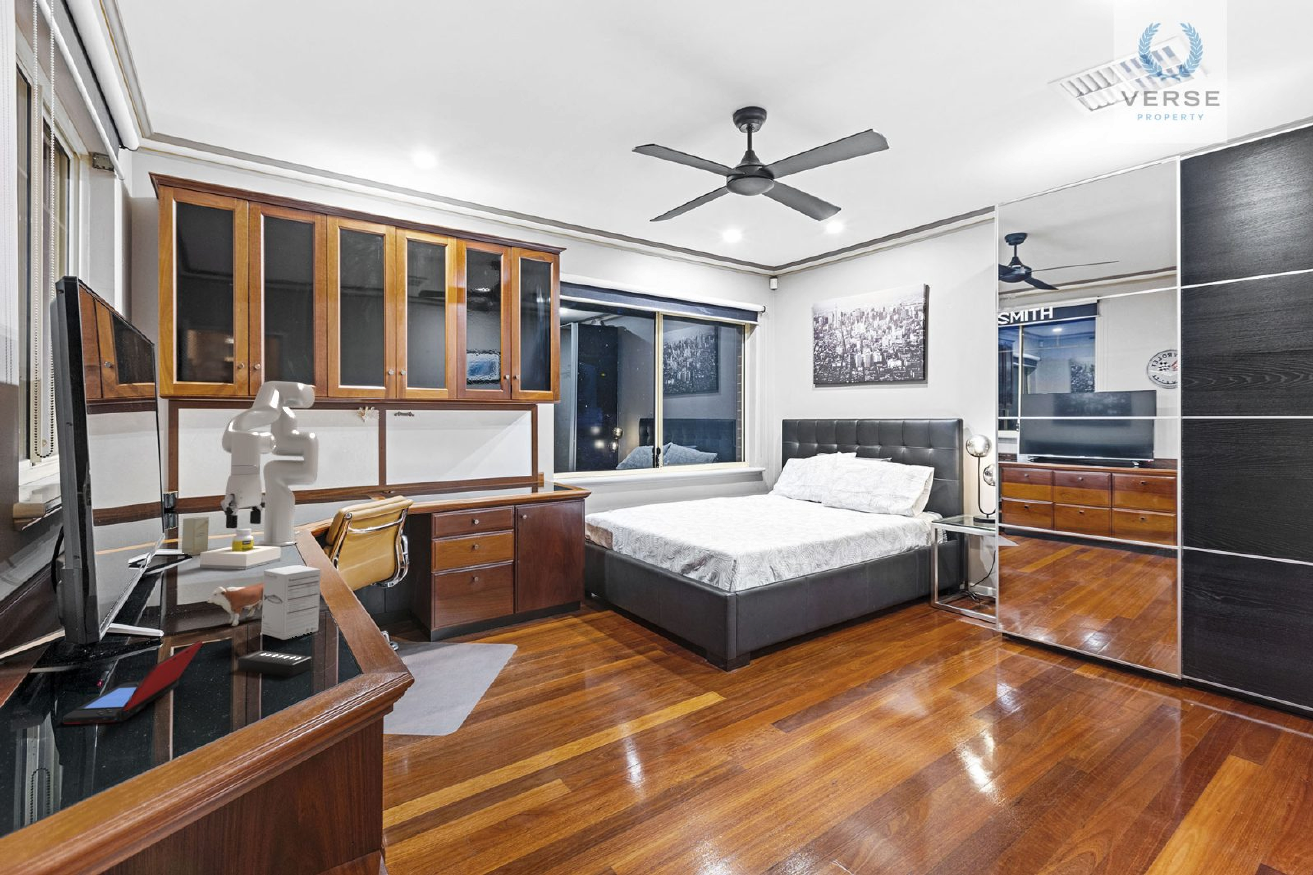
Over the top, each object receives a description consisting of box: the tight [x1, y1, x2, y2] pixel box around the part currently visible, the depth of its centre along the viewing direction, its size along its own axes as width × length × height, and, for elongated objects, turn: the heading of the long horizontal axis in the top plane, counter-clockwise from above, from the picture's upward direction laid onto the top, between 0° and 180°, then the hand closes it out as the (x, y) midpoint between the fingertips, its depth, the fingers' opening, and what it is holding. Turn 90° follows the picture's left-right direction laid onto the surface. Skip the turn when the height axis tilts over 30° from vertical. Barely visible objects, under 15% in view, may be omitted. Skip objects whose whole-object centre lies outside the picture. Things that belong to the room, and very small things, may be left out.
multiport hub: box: [236, 650, 313, 678], centre depth 99 cm, size 4×11×2 cm, turn 76°
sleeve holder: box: [199, 545, 282, 570], centre depth 186 cm, size 15×15×4 cm
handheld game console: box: [62, 639, 204, 725], centre depth 85 cm, size 12×11×7 cm
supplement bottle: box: [231, 527, 254, 552], centre depth 186 cm, size 5×5×10 cm
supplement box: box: [260, 564, 322, 641], centre depth 119 cm, size 7×7×13 cm
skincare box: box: [181, 516, 210, 556], centre depth 202 cm, size 6×4×12 cm
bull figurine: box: [206, 581, 264, 627], centre depth 126 cm, size 4×13×8 cm, turn 163°
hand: (243, 525), depth 187 cm, fingers open, 9 cm apart
